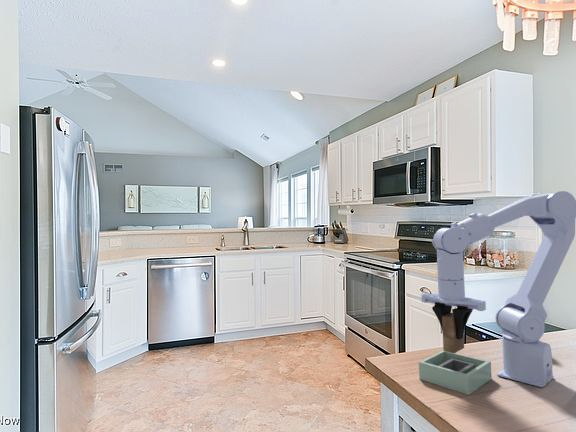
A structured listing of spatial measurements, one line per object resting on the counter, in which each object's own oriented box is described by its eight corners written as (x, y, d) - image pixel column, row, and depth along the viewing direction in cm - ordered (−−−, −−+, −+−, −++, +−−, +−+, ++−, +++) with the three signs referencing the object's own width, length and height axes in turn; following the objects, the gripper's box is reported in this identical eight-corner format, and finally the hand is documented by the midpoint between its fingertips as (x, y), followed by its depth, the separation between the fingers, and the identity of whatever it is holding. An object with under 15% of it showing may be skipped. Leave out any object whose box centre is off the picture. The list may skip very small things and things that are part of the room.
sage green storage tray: (491, 378, 89) (490, 361, 89) (468, 394, 81) (468, 376, 81) (443, 365, 98) (443, 349, 98) (419, 379, 90) (418, 362, 90)
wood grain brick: (464, 348, 90) (462, 314, 90) (454, 353, 87) (452, 318, 87) (453, 345, 92) (452, 312, 92) (443, 350, 89) (442, 316, 89)
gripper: (413, 278, 93) (416, 334, 93) (474, 284, 82) (477, 348, 81) (429, 274, 97) (431, 328, 97) (488, 280, 86) (491, 340, 86)
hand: (453, 336), depth 90 cm, fingers closed on wood grain brick, 2 cm apart
